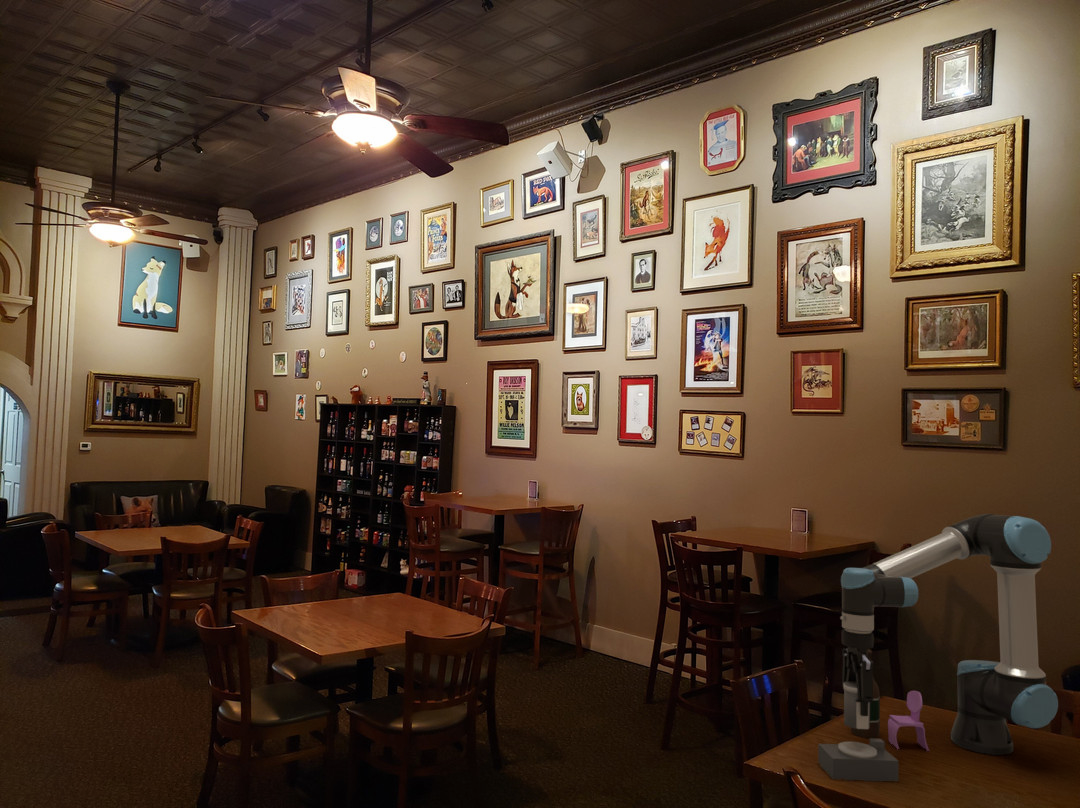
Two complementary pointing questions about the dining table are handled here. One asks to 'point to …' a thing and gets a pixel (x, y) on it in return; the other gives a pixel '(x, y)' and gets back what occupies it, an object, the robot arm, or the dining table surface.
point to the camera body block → (858, 761)
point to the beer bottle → (871, 713)
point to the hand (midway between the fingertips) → (856, 723)
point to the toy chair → (908, 720)
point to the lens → (851, 704)
